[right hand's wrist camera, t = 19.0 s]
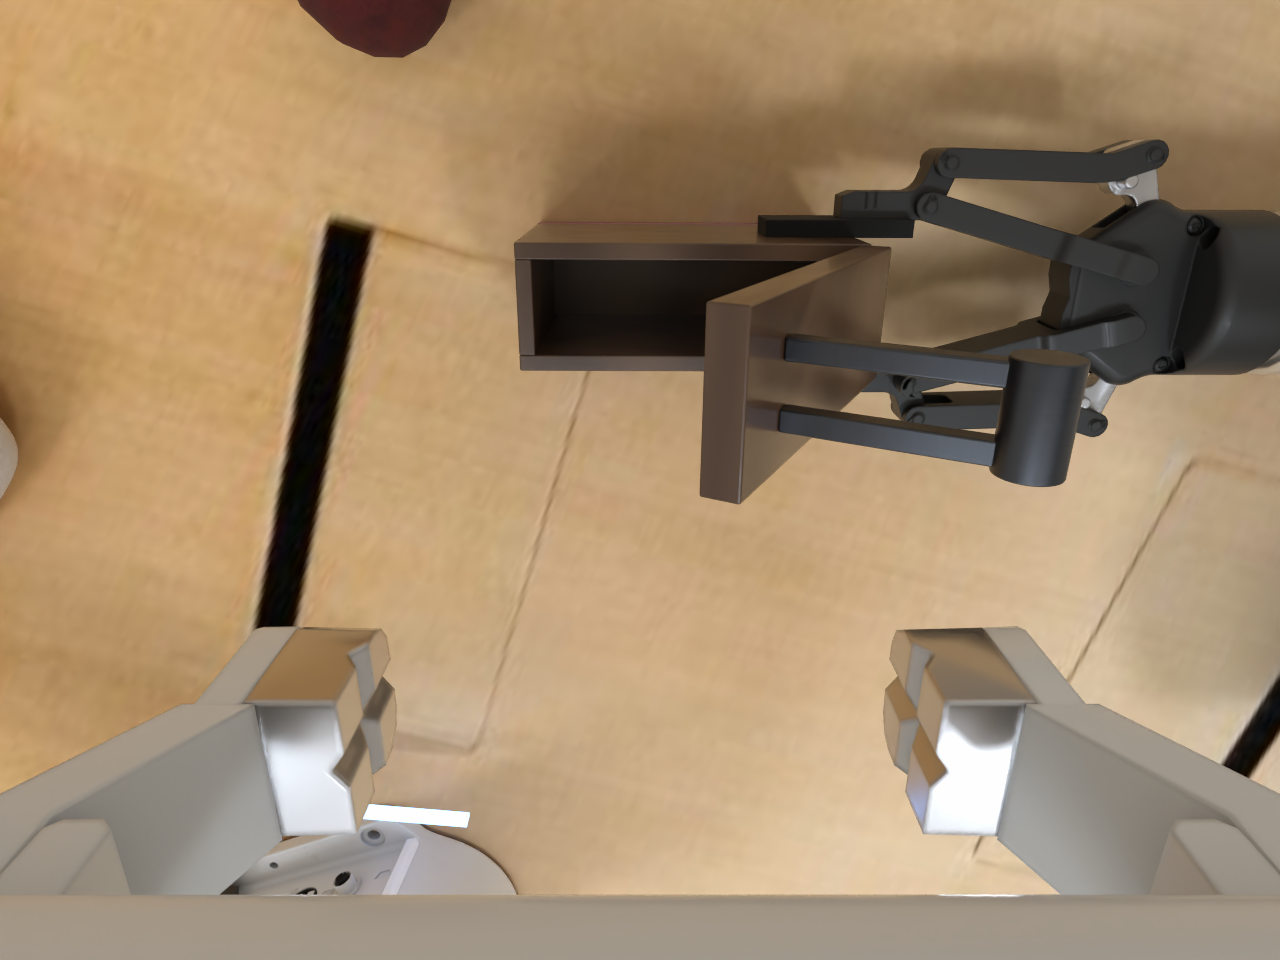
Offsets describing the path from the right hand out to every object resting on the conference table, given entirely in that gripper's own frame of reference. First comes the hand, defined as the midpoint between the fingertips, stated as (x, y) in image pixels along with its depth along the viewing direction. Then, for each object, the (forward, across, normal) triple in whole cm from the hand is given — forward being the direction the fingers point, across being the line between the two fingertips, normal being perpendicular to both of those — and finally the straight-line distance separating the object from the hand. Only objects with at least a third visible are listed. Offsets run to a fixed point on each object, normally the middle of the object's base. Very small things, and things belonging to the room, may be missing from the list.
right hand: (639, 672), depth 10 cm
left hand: (+30, -6, 0) cm, 31 cm away
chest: (+36, -2, 0) cm, 36 cm away
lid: (+19, -5, 0) cm, 20 cm away
